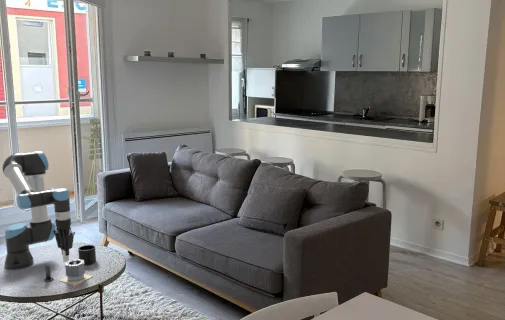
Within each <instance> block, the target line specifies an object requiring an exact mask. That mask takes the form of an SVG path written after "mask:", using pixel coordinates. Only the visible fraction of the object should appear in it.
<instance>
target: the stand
mask: <svg viewBox="0 0 505 320" xmlns="http://www.w3.org/2000/svg"><path fill="white" fill-rule="evenodd" d="M44 270H45V271H44V272H45V278H43V282H45V283H48V282H53V280H54V277H52V275H51V265H49V264H46V265H45V266H44Z"/></svg>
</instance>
